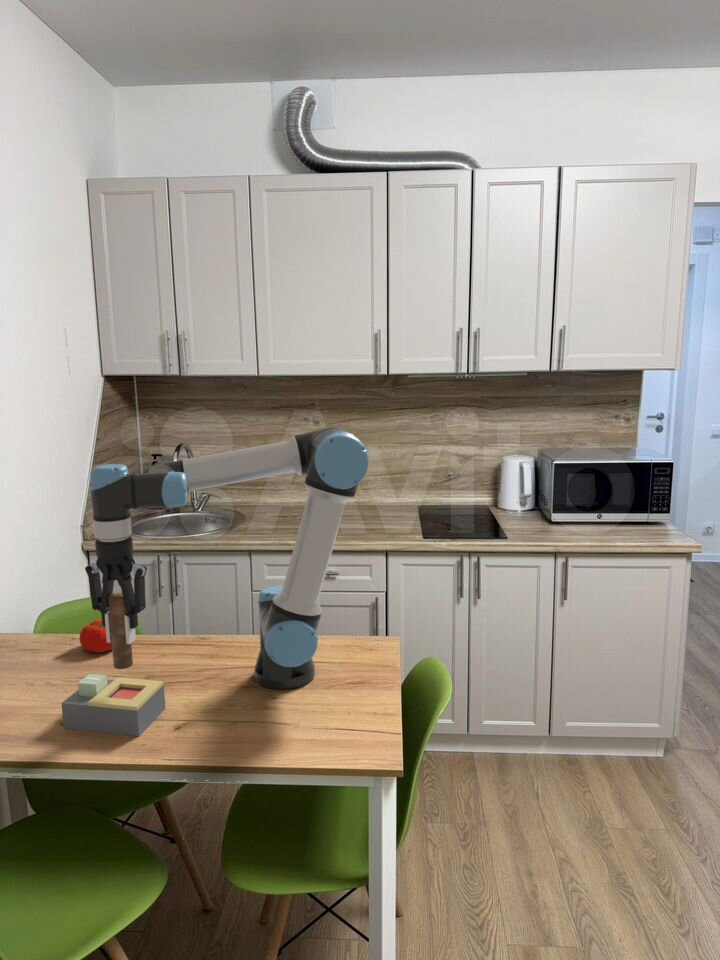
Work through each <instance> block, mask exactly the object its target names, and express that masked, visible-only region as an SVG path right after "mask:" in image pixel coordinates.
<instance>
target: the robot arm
mask: <svg viewBox="0 0 720 960" xmlns="http://www.w3.org/2000/svg"><path fill="white" fill-rule="evenodd" d="M369 461H370V460H369V455H368V451H367V450H366V447H365V445H364V443H363V442H362V441H361V440H360V438H358V437H357V436H355V434H353V433H350V432H348V431H346V430H344V429H341V428H338V427H334V426H332V427H323V428H321V429H317V430H312V431H309V432H304V433H301V434H294V435H292V436H291V437H290V439H288V440H285V441H281V442H280V441H279V442H275V443H269V444H263V445H257V446H251V447H247V448H240V449H235V450H230V451H224V452H218V453H213V454H208V455H203V456H202V455H201V456H196V457H191V458H186V459H180V460H174V461H167V460H166V461H165V460H164V461H163V460H161V461H158V462H155V464H152V465H151V466H150V467H149V469H148V470H147V472H146V473H145V472H144V473H129V470H128V467H127V466H126V465H125V464H122V463H117V464H116V463H107V464H99V465H97V466H94V467H93V468H91V470H90V495H91V507H92V514H93V515H92V516H93V517H92V518H93V531H94V532H93V533H94V538H95V539H96V540H95V541H94V544H95V545H94V547H95V555H96V557H97V560H96V561H95V562H93V563H91V564H89V565H87V566H85V567H84V570H85V572H86V574H87V577H88V582H89V584H88V585H89V591H90V599H91V608H92V609H93V610H94V611H96V610H97V611H99V612H100V613H101V621H102V625H103V626H104V627H106V638H107V643H110V642H112V638H111V625H110V612H109V599H108V596H109V595H111V594H114V593H113V592H114V586H115V585H114V583H115V582H116V581H117V583H118V586H120V590H121V593H122V594H123V598H124V602H125V605H126V609H127V614H126V615H124V619H125V632H126V644H131V645H132V643H133V642H135V640H137V638H136V637H137V636H136V628H137V627H138V626H139V618H138V614H140V612H143V610H145V609H146V608H147V607H146V578H145V576H146V574H147V571H148V567H147V566H146V565H143V566H141V565H138V564H136V562H135V559H134V557H133V555H134V545H133V544H134V543H133V542H134V541H133V537H132V536H131V535H132V533H133V532H132V531H133V530H132V517H131V514H132V513H131V510H139V509H140V510H141V509H143V510H144V509H164V508H165V509H166V508H168V509H172V508H178V507H184V506H186V505H187V503H188V493H189V492H193V491H198V490H204V489H207V488H208V489H209V488H214V487H219V486H225V485H229V484H236V483H241V482H248V481H252V480H258V479H263V478H269V477H275V476H279V475H284V474H285V475H286V474H291V473H296V474H297V475H298V476H303V475H306V476H305V480H304V482H303V483H304V486H305V488H306V490H307V491H308V494H307V498H306V501H305V502H306V503H305V506H304V509H303V514H302V516H301V520H300V524H299V528H298V531H297V535H296V539H295V542H294V546H293V549H292V553H291V557H290V561H289V564H288V567H287V572H286V575H285V577H284V582H283V585H276V586H275V585H274V586H269V587H266V588H263V589H261V590H260V591H259V593H258V600H257V603H258V616H259V617H258V618H259V619H258V622H259V642H260V646H259V647H260V649H259V652H258V655H257V659H256V662H255V665H254V671H253V672H254V680H255V682H256V683H257V684H258V685H260V686H262V687H265V688H267V689H271V690H272V689H274V690H289V689H295V688H298V687H302V686H305V685H306V684H307V685H308V683H310V682H311V681H312V680H313V679H314V677H315V675H316V671H315V670H316V669H315V662H314V661H313V657H314V655H315V654H316V651H317V649H318V644H319V637H318V633H317V631H318V627H319V625H320V620H321V617H322V613H323V609H322V607H321V605H320V603H319V599H320V595H321V592H322V588H323V584H324V582H325V577H326V574H327V570H328V568H329V563H330V559H331V557H332V553H333V549H334V545H335V541H336V539H337V535H338V531H339V528H340V524H341V521H342V518H343V514H344V510H345V506H346V503H348V502H349V501H351V500H353V499H355V497H356V493H357V492H356V491H357V489H358V486H359V483H361V482H362V480H363V479H364V478H365V476H366V474H367V473H368V469H369ZM132 572H133V573H132ZM131 573H132V575H133V576H134V577H133V580H132V575H131ZM101 574H102V578H101ZM132 581H133V584H132Z"/></svg>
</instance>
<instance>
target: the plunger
mask: <svg viewBox="0 0 720 960" xmlns="http://www.w3.org/2000/svg"><path fill="white" fill-rule="evenodd" d="M139 692H141V690H131V689H120V690H119V691H118V692H117V693H116V694H115V695H114V696H112V697H111V698H120V699H130V700H132V699H133V698H134V697H135V696H136V695H137V694H138V693H139Z"/></svg>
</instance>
